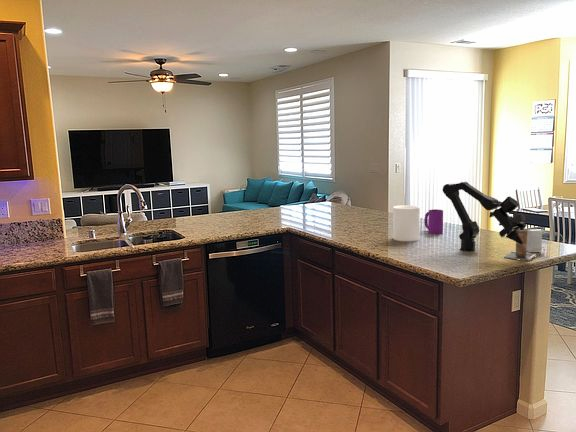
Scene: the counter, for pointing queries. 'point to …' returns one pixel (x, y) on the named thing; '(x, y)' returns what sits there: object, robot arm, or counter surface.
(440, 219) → the mug
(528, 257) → the slate mat
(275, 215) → the counter surface
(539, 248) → the skincare box
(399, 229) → the canister
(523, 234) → the brown cylinder
